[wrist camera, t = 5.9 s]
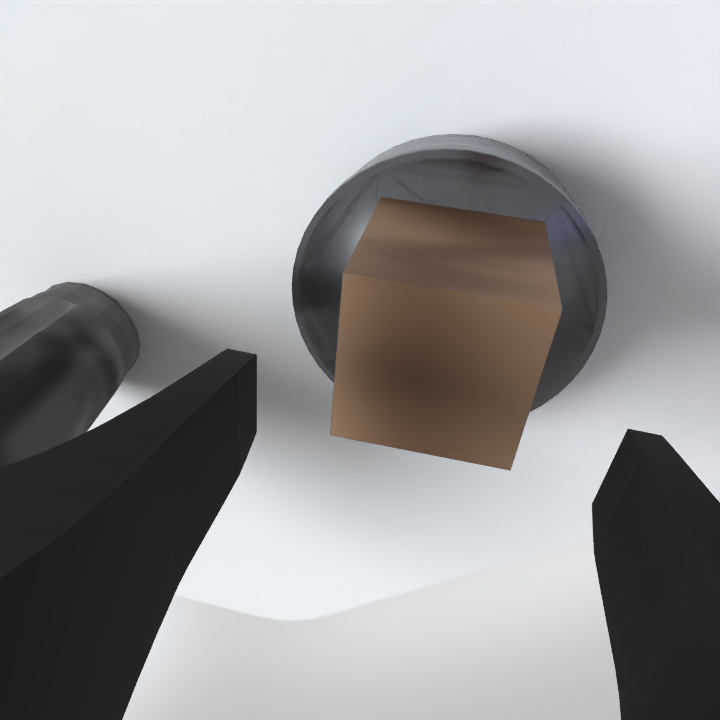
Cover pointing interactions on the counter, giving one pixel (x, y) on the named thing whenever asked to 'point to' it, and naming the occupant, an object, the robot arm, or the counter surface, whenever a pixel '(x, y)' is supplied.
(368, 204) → the grey tin
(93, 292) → the beverage cup
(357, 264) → the walnut block
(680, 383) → the counter surface
